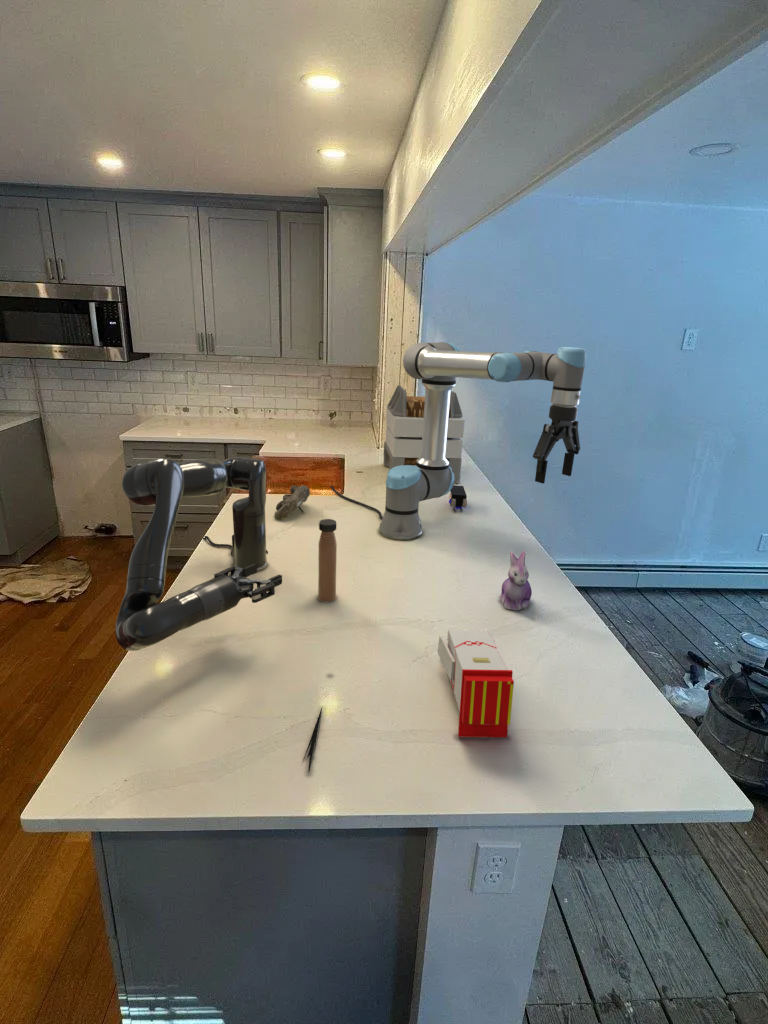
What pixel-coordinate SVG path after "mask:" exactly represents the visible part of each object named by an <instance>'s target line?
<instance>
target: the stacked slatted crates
mask: <svg viewBox="0 0 768 1024" xmlns="http://www.w3.org/2000/svg"><path fill="white" fill-rule="evenodd" d="M407 394H408V393H407V390H406V389H404V388H403V387H402V385H399V384H398V385H397V386H396V388H395V390H394V392H393V394H392V395H391V398H390V400H389V402H388V404H387V405H386V413H385V414H386V415H385V423H386V428H385V438H384V442H383V466H384V467H388V468H389V470H390V469H392V468H394V467H396V466H401V465H404V466H405V465H413V466H416V461H417V459H418V458H420V457H421V450H422V435H423V420H424V405H425V396H415V395H414V396H413V395H412V396H411V395H407ZM464 429H465V419H464V418H463V411H462V408H461V405H460V402H459V398H458V395H457V392H455V391H453V390H451V393H450V405H449V417H448V429H447V441H446V453H445V458H446V459H447V461H448V462H449V466H450V467H451V469H452V473H454V484H455V483H456V484H459V483H461V472H462V461H463V460H462V453H463V442H464V441H463V440H462V439H463V438H464V431H465V430H464Z"/></svg>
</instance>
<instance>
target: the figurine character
mask: <svg viewBox="0 0 768 1024" xmlns="http://www.w3.org/2000/svg"><path fill="white" fill-rule="evenodd" d="M467 495H468V494H467V493H466V490H465V487H464V485H456V484H455V485H454V484H453V487H452V489H451V490H450V491H449V496H448V499H449V500H448V504H449V506H450V507H451V508H452V510H453V512H456V510H458V509H459V510H460V512H463V509H464V508H465V509H466V508H467V506H468V499H467V497H468V496H467Z"/></svg>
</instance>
